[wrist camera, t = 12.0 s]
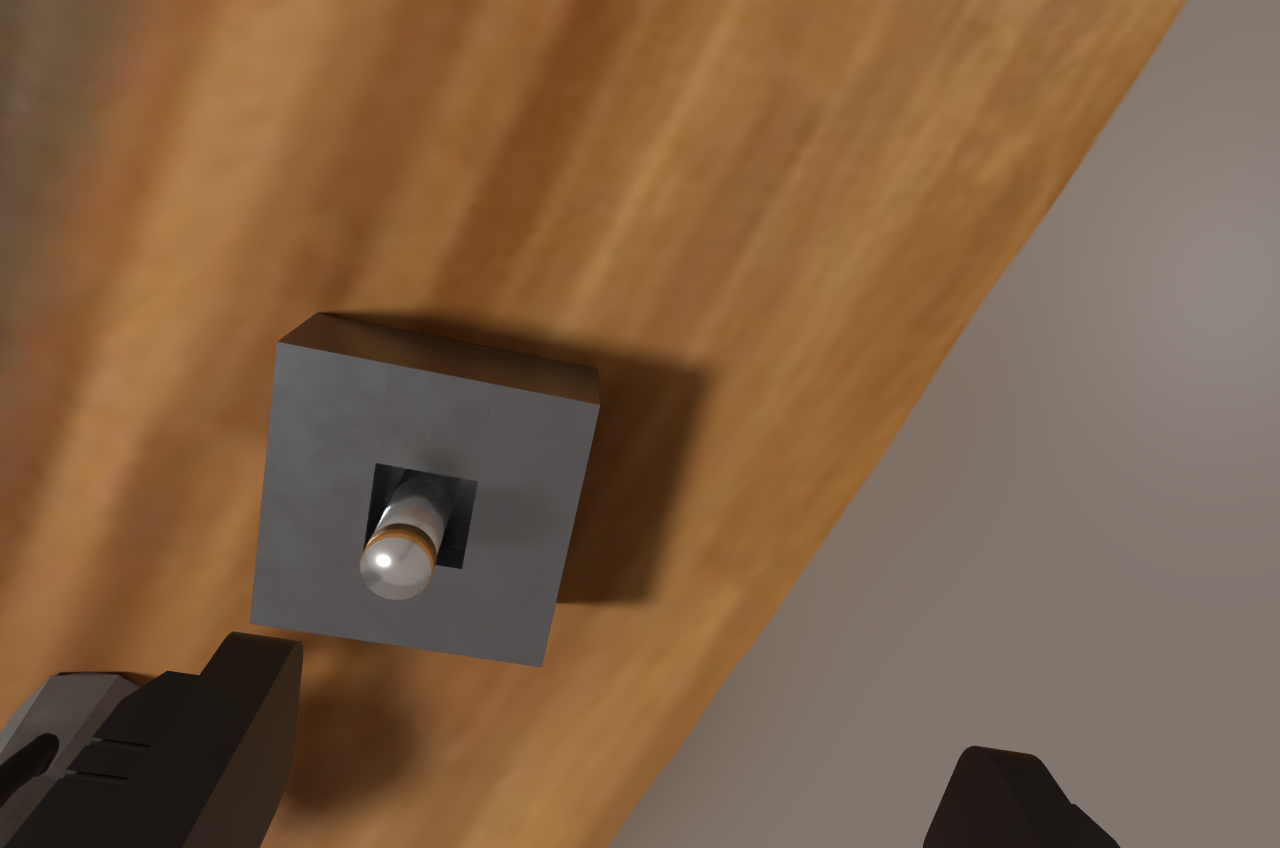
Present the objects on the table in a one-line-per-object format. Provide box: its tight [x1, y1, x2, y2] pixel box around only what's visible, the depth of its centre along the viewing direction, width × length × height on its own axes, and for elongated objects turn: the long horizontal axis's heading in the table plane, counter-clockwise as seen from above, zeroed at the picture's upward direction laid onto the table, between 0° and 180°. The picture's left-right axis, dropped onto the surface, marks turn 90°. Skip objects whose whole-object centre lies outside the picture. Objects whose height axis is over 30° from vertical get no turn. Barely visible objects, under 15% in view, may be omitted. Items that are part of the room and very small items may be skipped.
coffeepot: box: [0, 672, 142, 848], centre depth 40 cm, size 15×9×18 cm, turn 155°
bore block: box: [250, 313, 600, 667], centre depth 42 cm, size 14×14×6 cm
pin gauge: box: [359, 469, 461, 600], centre depth 39 cm, size 3×3×10 cm
